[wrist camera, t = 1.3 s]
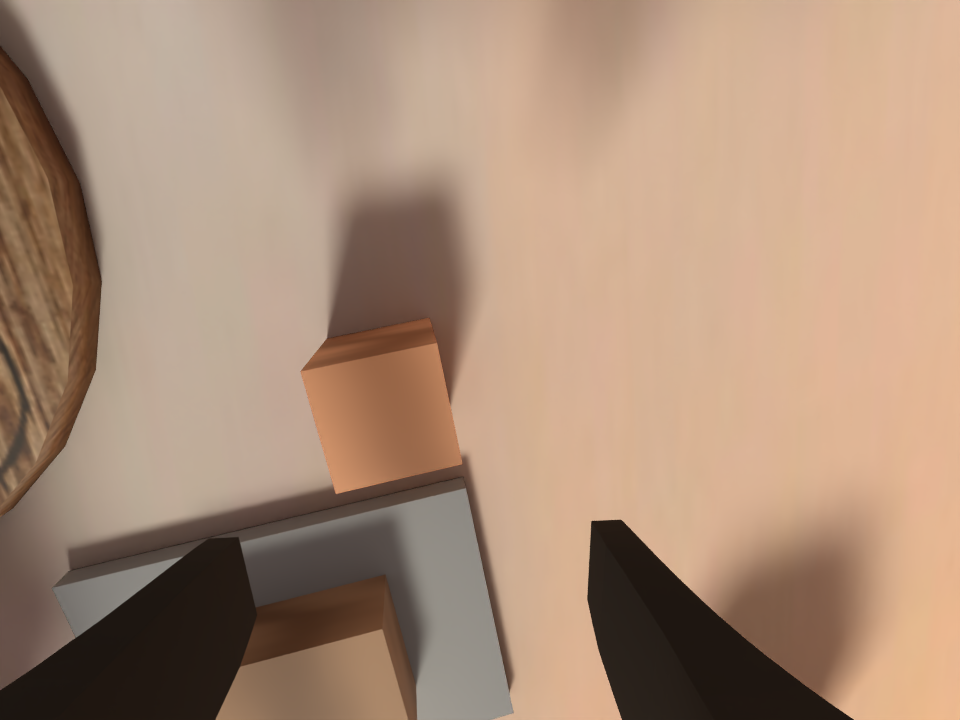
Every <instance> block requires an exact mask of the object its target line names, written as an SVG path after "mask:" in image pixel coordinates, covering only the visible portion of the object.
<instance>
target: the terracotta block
mask: <svg viewBox="0 0 960 720" xmlns="http://www.w3.org/2000/svg"><path fill="white" fill-rule="evenodd" d="M301 375H302V378H303V382H304V385H305V389H306V392H307V396H308V399H309V403H310V406H311V410H312V413H313V416H314V420H315V423H316V427H317V430H318V434H319V437H320V441H321V444H322V448H323V451H324V455H325V458H326V462H327V465H328V468H329V472H330V475H331V479H332V482H333V486H334V489H335V493H336V494H338V493H342V492H346V491H351V490H355V489H359V488H363V487H368V486H372V485H376V484H380V483H385V482H389V481H393V480H397V479H402V478H406V477H410V476H415V475H419V474H423V473H427V472H432V471H436V470H440V469H444V468H449V467H453V466H457V465H461V464H462V459H461V455H460V450H459V445H458V440H457V436H456V431H455V426H454V421H453V417H452V412H451V407H450V402H449V397H448V393H447V388H446V383H445V378H444V374H443V369H442V364H441V359H440V355H439V350H438V345H437V341H436V338H435V335H434V331H433V328H432V325H431V322H430V318H425V319H420V320H416V321H411V322H406V323H401V324H396V325H391V326H386V327H381V328H377V329H372V330H367V331H362V332H357V333H352V334H347V335H342V336H337V337H333V338H328V339H326V340H325V342H324V343H323V344H322V345H321V347H320V348H319V349H318V350H317V352H316V353H315V354H314V355H313V357H312V358H311V359H310V360H309V362H308V363H307V364H306V365H305V367H304V368H303V369H302V370H301Z"/></svg>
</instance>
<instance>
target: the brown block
mask: <svg viewBox="0 0 960 720" xmlns="http://www.w3.org/2000/svg"><path fill="white" fill-rule="evenodd" d="M256 611H257V617H256V620H255V624H254V627H253V630H252V633H251V636H250V639H249V642H248V645H247V648H246V651H245V654H244V657H243V659H242V662H241V665H240V668H239V670H238V672H237V674H236V677H235V679H234V681H233V683H232V685H231V688H230V690H229V692H228V694H227V696H226V698H225V700H224V703H223V705H222V707H221V709H220V711H219V713H218V715H217V717H216V720H417V694H416V684H415V680H414V676H413V673H412V669H411V666H410V662H409V658H408V655H407V651H406V647H405V644H404V640H403V636H402V633H401V629H400V625H399V622H398V618H397V614H396V611H395V607H394V603H393V600H392V596H391V592H390V589H389V585H388V582H387V578H386V574H385V575H382V576H378V577H374V578H370V579H366V580H362V581H358V582H354V583H350V584H346V585H342V586H338V587H334V588H330V589H327V590H323V591H319V592H315V593H311V594H307V595H303V596H299V597H295V598H291V599H287V600H283V601H279V602H275V603H272V604H268V605H264V606H260V607H256Z"/></svg>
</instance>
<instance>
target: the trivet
mask: <svg viewBox="0 0 960 720" xmlns="http://www.w3.org/2000/svg"><path fill="white" fill-rule="evenodd" d="M101 285H102V280H101V276H100V271H99V267H98V262H97V258H96V253H95V249H94V244H93V240H92V235H91V231H90V226H89V222H88V217H87V213H86V208H85V204H84V199H83V195H82V190H81V186H80V183H79V181H78V179H77V177H76V175H75V173H74V171H73V169H72V167H71V165H70V163H69V161H68V159H67V157H66V155H65V153H64V151H63V149H62V147H61V145H60V143H59V141H58V139H57V137H56V135H55V133H54V131H53V129H52V127H51V125H50V123H49V121H48V119H47V117H46V115H45V113H44V111H43V109H42V107H41V105H40V103H39V101H38V99H37V97H36V95H35V93H34V91H33V89H32V87H31V85H30V83H29V81H28V79H27V78H26V77H25V76H24V74H23V73H22V72H21V71H20V69H19V68H18V67H17V66H16V65H15V63H14V62H13V61H12V60H11V58H10V57H9V56H8V55H7V53H6V52H5V51H4V50H3V49H2V47H1V46H0V517H1V516H2V515H4V514H5V513H7V512H8V511H9V510H11V509H12V508H14V506H15V505H16V504H17V503H18V502H19V500H20V499H21V498H22V497H23V496H24V494H25V493H26V492H27V491H28V490H29V489H30V487H31V486H32V485H33V484H34V483H35V481H36V480H37V479H38V478H39V477H40V475H41V474H42V473H43V472H44V471H45V469H46V468H47V467H48V466H49V465H50V463H51V462H52V461H53V460H54V459H55V458H56V456H57V455H58V454H59V453H60V452H61V450H62V449H63V448H64V447H65V445H66V443H67V440H68V438H69V435H70V433H71V430H72V428H73V425H74V423H75V420H76V418H77V415H78V413H79V410H80V408H81V405H82V403H83V400H84V398H85V395H86V393H87V390H88V388H89V385H90V383H91V380H92V378H93V375H94V373H95V370H96V359H97V344H98V330H99V315H100V300H101Z"/></svg>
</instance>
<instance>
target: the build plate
mask: <svg viewBox="0 0 960 720" xmlns="http://www.w3.org/2000/svg"><path fill="white" fill-rule="evenodd" d="M228 537H239V540H240V544H241V548H242V553H243V557H244V561H245V565H246V569H247V574H248V578H249V582H250V586H251V590H252V595H253V599H254V603H255V607H260V606H264V605H268V604H272V603H275V602H279V601H283V600H287V599H291V598H295V597H299V596H303V595H307V594H311V593H315V592H319V591H323V590H327V589H330V588H334V587H338V586H342V585H346V584H350V583H354V582H358V581H362V580H366V579H370V578H374V577H378V576H382V575H385V574H386V578H387V582H388V585H389V589H390V592H391V596H392V600H393V603H394V607H395V611H396V614H397V618H398V622H399V625H400V629H401V633H402V636H403V640H404V644H405V647H406V651H407V655H408V658H409V662H410V666H411V669H412V673H413V676H414V680H415V684H416V694H417V720H492V719H495V718H498V717H502V716H505V715H509V714H512V713H514V712H513V708H512V703H511V698H510V694H509V689H508V684H507V679H506V675H505V670H504V665H503V661H502V656H501V651H500V646H499V642H498V637H497V632H496V628H495V623H494V618H493V614H492V609H491V604H490V599H489V595H488V590H487V585H486V581H485V576H484V571H483V566H482V562H481V557H480V552H479V548H478V543H477V538H476V533H475V529H474V524H473V519H472V515H471V510H470V505H469V500H468V496H467V491H466V487H465V482H464V478H463V477H461V478H456V479H452V480H448V481H444V482H440V483H435V484H431V485H427V486H423V487H419V488H415V489H410V490H406V491H402V492H398V493H394V494H389V495H385V496H381V497H377V498H373V499H369V500H364V501H360V502H356V503H352V504H348V505H343V506H339V507H335V508H331V509H327V510H322V511H318V512H314V513H310V514H306V515H302V516H297V517H293V518H289V519H285V520H281V521H276V522H272V523H268V524H264V525H260V526H256V527H251V528H247V529H243V530H239V531H235V532H230V533H226V534H222V535H218V536H214V537H209V538H228ZM209 538H205V539H201V540H197V541H193V542H189V543H184V544H180V545H176V546H172V547H168V548H163V549H159V550H155V551H151V552H147V553H143V554H138V555H134V556H130V557H126V558H122V559H117V560H113V561H109V562H105V563H101V564H96V565H92V566H88V567H84V568H80V569H76V570H71V571H69V572H68V573H67V574H66V575H65V576H64V577H63V578H62V579H61V580H59V581H58V582H57V583H56V584H55V585H54V586H53V587H52V590H53V592H54V594H55V596H56V598H57V600H58V602H59V604H60V606H61V608H62V610H63V612H64V614H65V616H66V618H67V621H68V623H69V625H70V627H71V629H72V631H73V633H74V635H75V637H78V636H79V635H81V634H82V633H83V632H85V631H86V630H87V629H89V628H90V627H92V626H93V625H94V624H96V623H97V622H99V621H100V620H101V619H103V618H104V617H105V616H107V615H108V614H109V613H111V612H112V611H113V610H115V609H116V608H117V607H118V606H120V605H121V604H122V603H124V602H125V601H126V600H128V599H129V598H130V597H132V596H133V595H134V594H135V593H137V592H138V591H139V590H141V589H142V588H143V587H145V586H146V585H147V584H149V583H150V582H151V581H152V580H154V579H155V578H156V577H158V576H159V575H160V574H161V573H163V572H164V571H165V570H167V569H168V568H169V567H171V566H172V565H173V564H174V563H176V562H177V561H178V560H180V559H181V558H182V557H184V556H185V555H186V554H188V553H189V552H190V551H192V550H193V549H194V548H196V547H197V546H198V545H200V544H201V543H203V542H204V541H206V540H207V539H209Z"/></svg>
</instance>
